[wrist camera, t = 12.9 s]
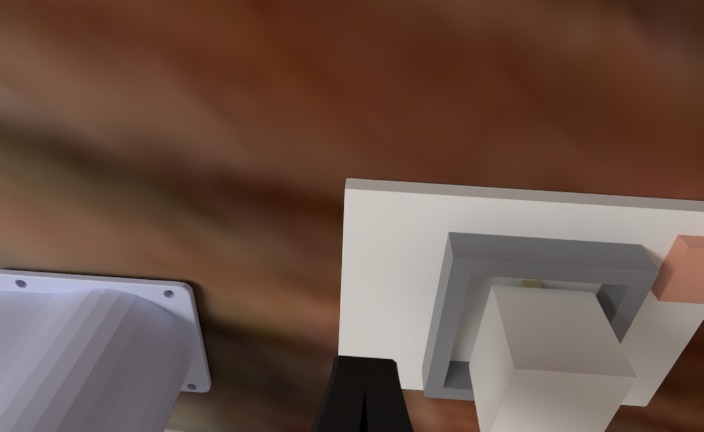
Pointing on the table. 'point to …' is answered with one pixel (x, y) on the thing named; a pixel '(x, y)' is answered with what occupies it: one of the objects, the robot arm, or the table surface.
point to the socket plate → (512, 272)
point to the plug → (547, 362)
